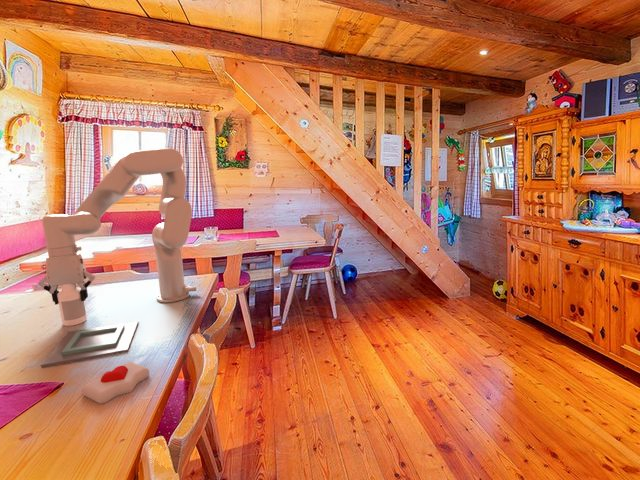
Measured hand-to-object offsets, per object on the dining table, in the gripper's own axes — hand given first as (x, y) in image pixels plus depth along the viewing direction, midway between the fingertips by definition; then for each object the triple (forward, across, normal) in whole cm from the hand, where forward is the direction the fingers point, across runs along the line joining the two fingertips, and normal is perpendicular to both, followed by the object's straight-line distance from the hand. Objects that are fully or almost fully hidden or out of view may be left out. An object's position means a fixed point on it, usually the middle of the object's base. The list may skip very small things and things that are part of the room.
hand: (71, 301), depth 110 cm
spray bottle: (+8, 0, 0) cm, 8 cm away
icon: (+8, -22, +47) cm, 53 cm away
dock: (+8, -11, +20) cm, 24 cm away
